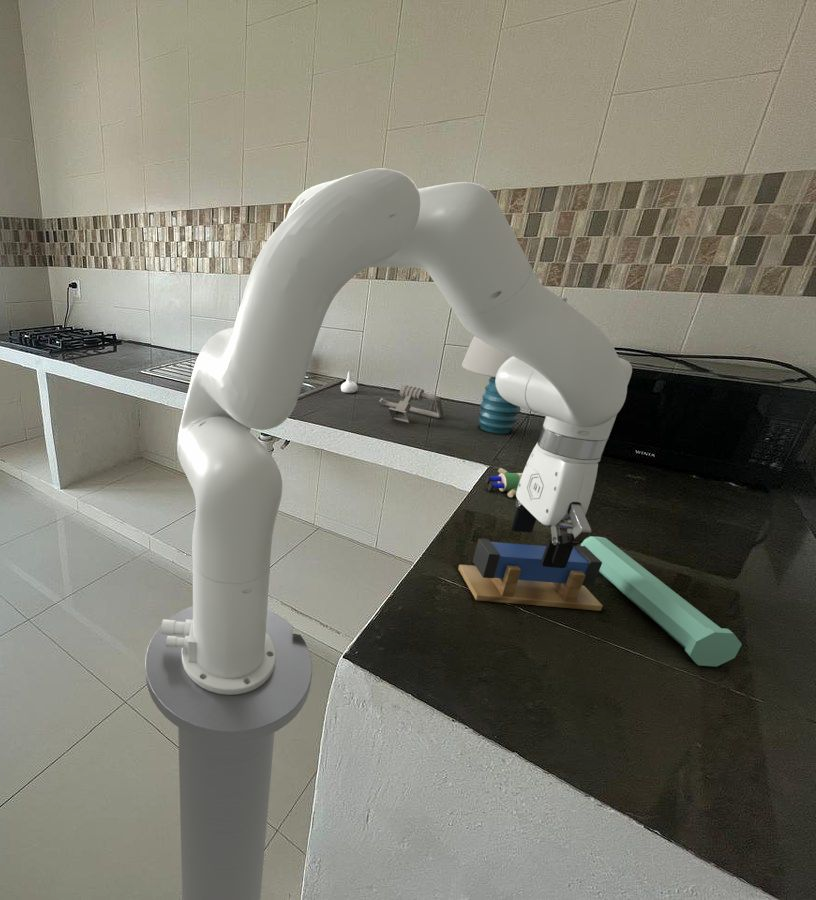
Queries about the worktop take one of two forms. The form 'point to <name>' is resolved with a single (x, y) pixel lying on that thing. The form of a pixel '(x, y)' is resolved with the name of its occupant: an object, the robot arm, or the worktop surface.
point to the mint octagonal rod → (665, 606)
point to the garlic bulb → (349, 385)
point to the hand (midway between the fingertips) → (535, 547)
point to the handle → (532, 562)
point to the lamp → (491, 386)
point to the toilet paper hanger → (404, 406)
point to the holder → (530, 589)
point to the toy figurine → (504, 482)
